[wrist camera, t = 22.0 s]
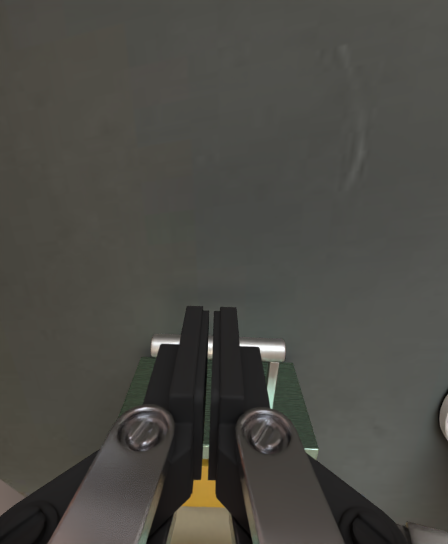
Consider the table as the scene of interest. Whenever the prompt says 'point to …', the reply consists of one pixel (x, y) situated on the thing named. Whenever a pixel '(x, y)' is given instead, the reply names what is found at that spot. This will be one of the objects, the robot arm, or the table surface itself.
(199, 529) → the fridge drawer
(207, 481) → the block
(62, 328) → the table surface
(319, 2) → the table surface
